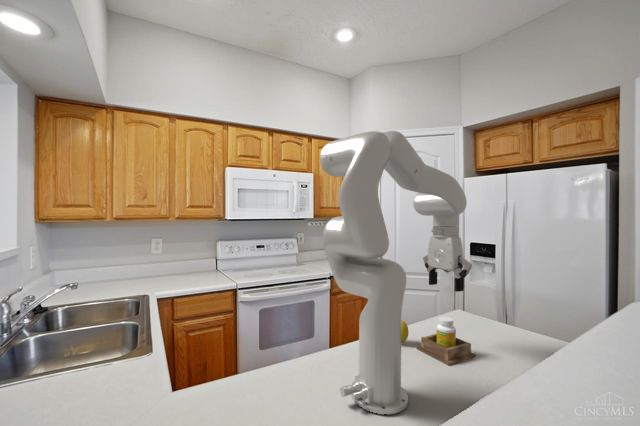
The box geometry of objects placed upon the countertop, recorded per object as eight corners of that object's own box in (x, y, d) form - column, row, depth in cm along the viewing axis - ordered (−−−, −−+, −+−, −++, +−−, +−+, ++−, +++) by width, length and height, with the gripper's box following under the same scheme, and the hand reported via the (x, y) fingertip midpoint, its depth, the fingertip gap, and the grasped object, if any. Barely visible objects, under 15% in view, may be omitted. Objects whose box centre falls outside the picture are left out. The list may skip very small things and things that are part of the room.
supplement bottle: (435, 352, 89) (435, 320, 90) (437, 345, 94) (437, 314, 94) (455, 356, 87) (455, 323, 87) (456, 349, 91) (456, 317, 92)
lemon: (390, 345, 95) (390, 320, 96) (391, 339, 101) (391, 315, 101) (408, 348, 94) (408, 322, 94) (408, 341, 99) (408, 317, 99)
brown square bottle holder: (448, 365, 83) (448, 352, 83) (416, 348, 93) (416, 336, 93) (476, 357, 88) (476, 344, 88) (443, 342, 99) (443, 330, 99)
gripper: (416, 231, 98) (415, 283, 97) (462, 233, 82) (461, 295, 82) (432, 231, 101) (432, 281, 101) (479, 233, 86) (479, 292, 85)
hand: (445, 287), depth 91 cm, fingers open, 9 cm apart
